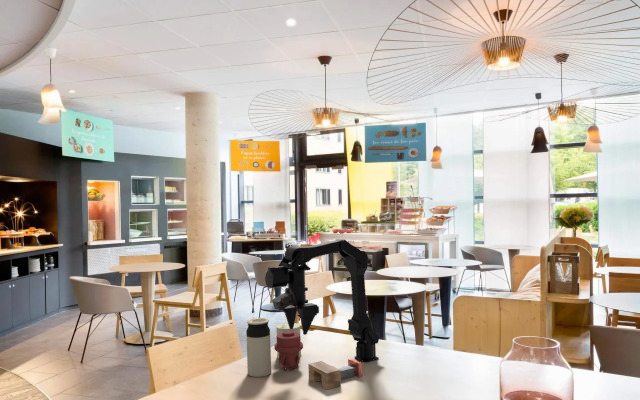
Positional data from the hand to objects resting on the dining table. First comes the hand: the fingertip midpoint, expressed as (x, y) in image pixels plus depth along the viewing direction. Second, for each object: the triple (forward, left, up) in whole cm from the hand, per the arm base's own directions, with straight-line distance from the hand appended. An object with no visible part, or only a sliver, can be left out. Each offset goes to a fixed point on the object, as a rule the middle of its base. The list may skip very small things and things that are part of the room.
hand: (298, 331), depth 165 cm
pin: (-11, +10, -15) cm, 21 cm away
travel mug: (+10, -10, -15) cm, 20 cm away
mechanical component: (-1, -9, -15) cm, 17 cm away
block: (-3, +10, -15) cm, 18 cm away
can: (-7, -20, -15) cm, 26 cm away
